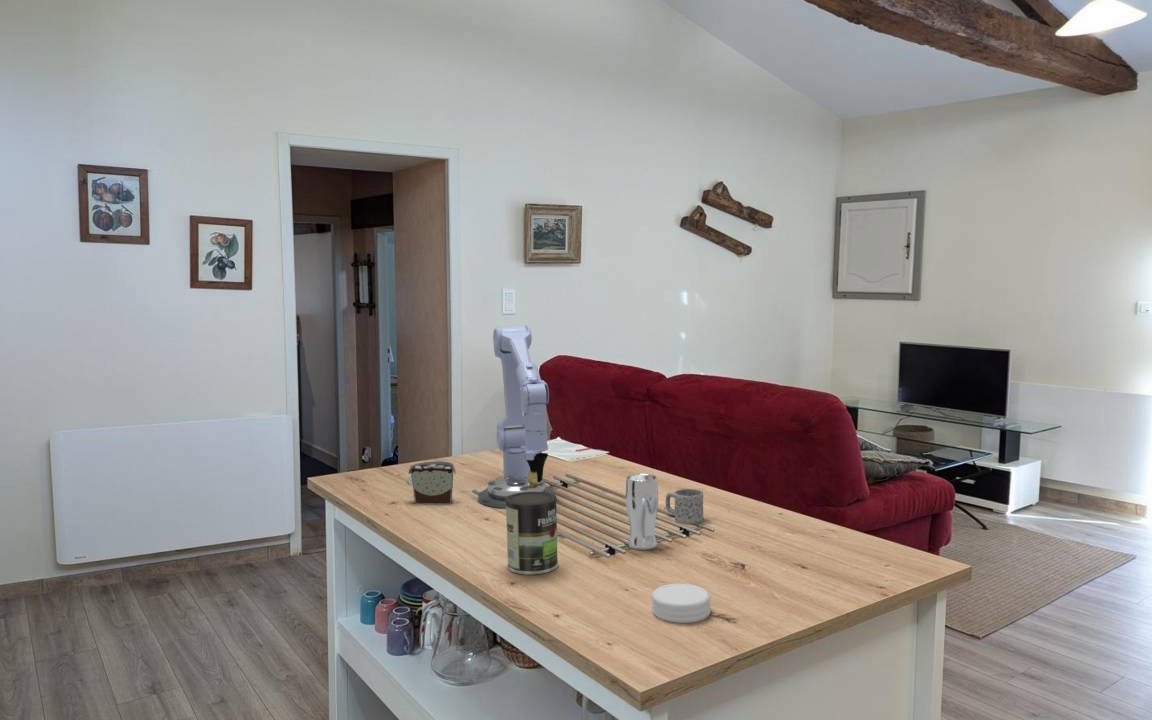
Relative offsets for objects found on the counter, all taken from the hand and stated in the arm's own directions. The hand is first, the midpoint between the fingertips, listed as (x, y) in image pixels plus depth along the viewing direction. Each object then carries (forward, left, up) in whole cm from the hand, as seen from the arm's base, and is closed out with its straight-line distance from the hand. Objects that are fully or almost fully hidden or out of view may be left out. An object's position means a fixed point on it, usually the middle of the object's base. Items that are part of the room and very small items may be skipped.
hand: (537, 481), depth 217 cm
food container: (+9, -25, -5) cm, 27 cm away
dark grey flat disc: (0, -6, -5) cm, 8 cm away
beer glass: (+26, +37, -5) cm, 46 cm away
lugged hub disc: (0, -6, -3) cm, 7 cm away
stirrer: (0, -36, -6) cm, 37 cm away
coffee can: (+45, +20, -5) cm, 50 cm away
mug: (+4, +40, -5) cm, 41 cm away
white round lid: (+57, +54, -5) cm, 79 cm away
